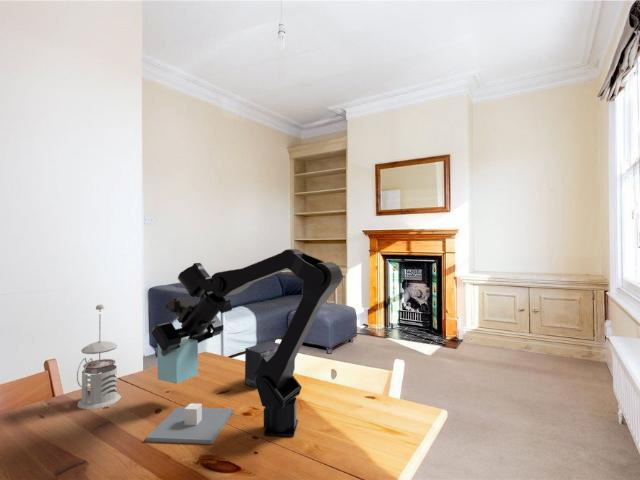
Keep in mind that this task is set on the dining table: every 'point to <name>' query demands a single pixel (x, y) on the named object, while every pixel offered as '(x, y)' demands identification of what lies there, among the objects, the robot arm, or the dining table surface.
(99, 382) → the french press
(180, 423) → the post board
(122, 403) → the dining table surface
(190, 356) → the pale blue cube block
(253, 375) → the small box
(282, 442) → the dining table surface
